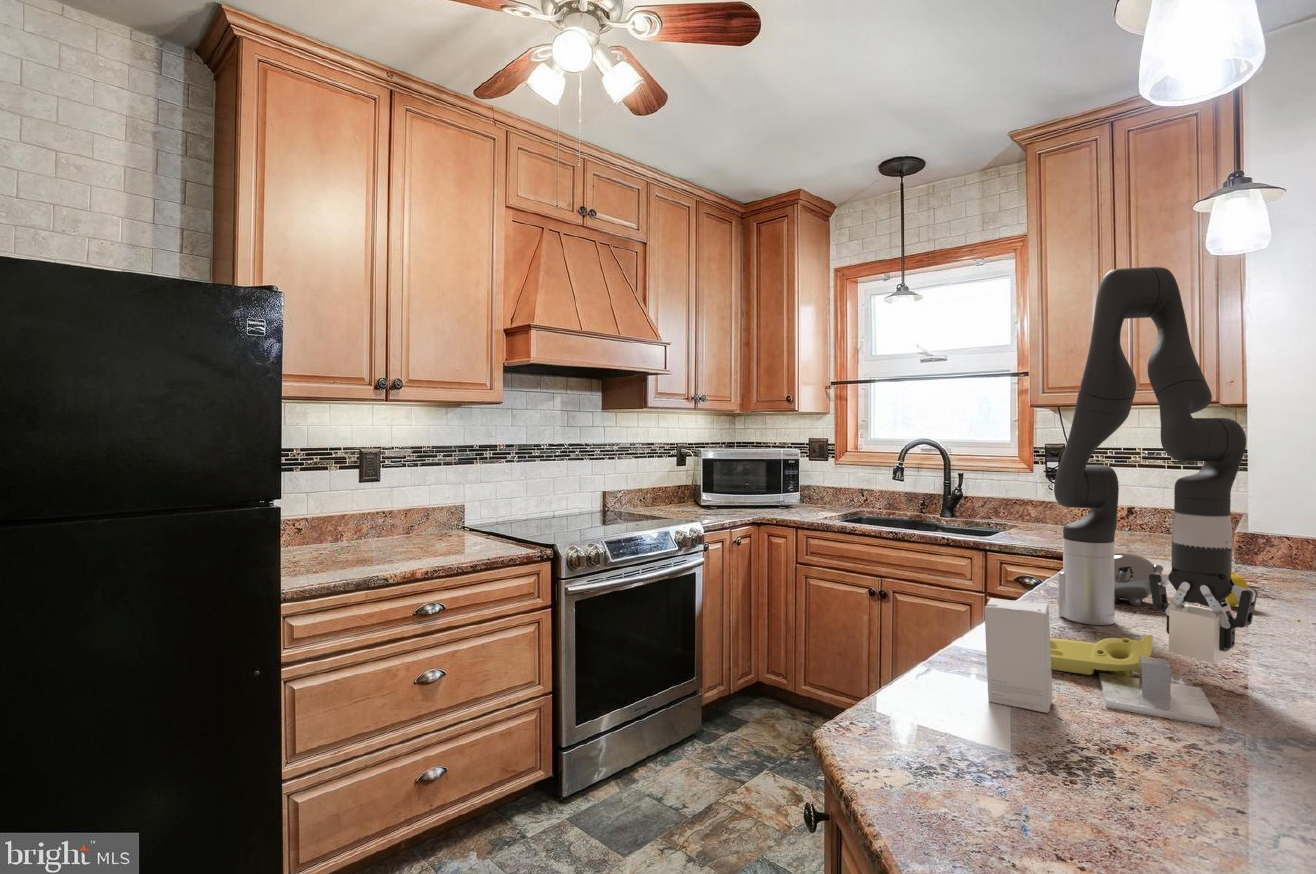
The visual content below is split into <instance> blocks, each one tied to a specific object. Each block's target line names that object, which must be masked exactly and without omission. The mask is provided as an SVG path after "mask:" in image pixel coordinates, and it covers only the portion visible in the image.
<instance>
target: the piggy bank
mask: <svg viewBox="0 0 1316 874" xmlns="http://www.w3.org/2000/svg"><path fill="white" fill-rule="evenodd" d="M1158 572H1161V573H1162V574H1163V572H1164V566H1162V565H1161V564H1154V563H1153V562H1152V561H1150V560H1149V559H1147V558H1145V557H1144V556H1140V555H1138V554H1134V553H1128V552H1114V604H1115V603H1117V601H1118V600H1119V599H1123V600H1127V601H1128V602H1129V603H1130V605H1131V606H1134V607H1140V606H1141V602H1143V601H1144V599H1147V598H1149V597H1150V596H1152V595H1151V588H1150V581H1149V575H1150V574H1154V573H1158Z"/></svg>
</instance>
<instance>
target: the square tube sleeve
mask: <svg viewBox="0 0 1316 874" xmlns="http://www.w3.org/2000/svg"><path fill="white" fill-rule="evenodd" d="M1220 627H1222V626H1221V624H1220V622H1219V617H1217V616H1216V615H1215V614H1214V613H1213V612H1212V610H1211V608H1210V607H1208V608H1207V607H1204V606H1198V605H1192V604H1189V603H1187V604H1186V605H1185V606H1184V607H1183V606H1180V607H1179V608H1172V609H1169V634H1168V653H1172V654H1177V655H1180V656H1185V657H1189V658H1192V659H1194V660H1200V661H1203V662H1207V663H1211V664H1215V663H1217V662H1220V661H1222V660H1225V659H1228V658H1229V657H1231V653H1232V652H1231V651H1232V650H1231V649H1232V648H1230V650H1228V651H1226V652H1224V651H1220V650H1219V633H1220Z"/></svg>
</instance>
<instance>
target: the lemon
mask: <svg viewBox="0 0 1316 874" xmlns="http://www.w3.org/2000/svg"><path fill="white" fill-rule="evenodd" d="M1231 578H1232V581H1233V583H1234V584H1235V586H1239V587H1242V588H1246V589H1249V586H1248V583H1247V581H1246V579H1245V578H1243V577H1242V576H1241V575H1239V574H1236V573H1235V572H1231ZM1226 599H1227V601H1228V603H1229V605H1230V607H1231V608H1235V607H1236V606H1239V601H1238V600H1236V596H1235V594H1234V593H1233V592H1232V593H1231V594H1229V595H1228V596H1227V597H1226Z"/></svg>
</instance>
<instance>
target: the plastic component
mask: <svg viewBox="0 0 1316 874" xmlns="http://www.w3.org/2000/svg"><path fill="white" fill-rule="evenodd" d="M1152 650H1153V635H1152V634H1146V635H1144V637H1143V638H1141V640H1138V639H1137V640H1136V639H1130V638H1128V637H1121V638H1117V637H1108V638H1107V637H1106V638H1104V639H1100V640H1099V641H1096V642H1087V641H1081V640H1080V641H1079V640H1072V639H1070V640H1069V639H1065V638H1064V639H1063V638H1054V637H1050V651H1051V671H1060V672H1067V673H1075V674H1081V675H1088V676H1091V675H1093V674H1094V670H1097V671H1105V672H1106V671H1109V672H1110V674H1113V675H1120V676H1126V677H1133V678H1134V676H1135V675H1134V672H1135V670H1137V669H1139V656H1144V657H1151V655H1152V652H1153V651H1152Z"/></svg>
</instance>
